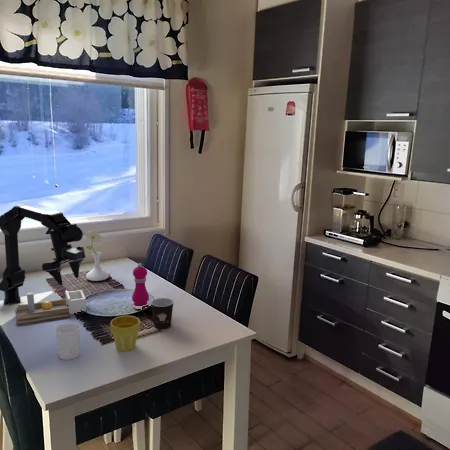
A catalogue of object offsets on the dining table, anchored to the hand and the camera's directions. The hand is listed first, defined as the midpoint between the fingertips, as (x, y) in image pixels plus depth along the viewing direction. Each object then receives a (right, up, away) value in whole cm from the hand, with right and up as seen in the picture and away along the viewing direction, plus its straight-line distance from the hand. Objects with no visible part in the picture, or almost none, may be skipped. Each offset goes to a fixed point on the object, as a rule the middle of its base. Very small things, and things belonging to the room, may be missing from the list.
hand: (69, 281), depth 178 cm
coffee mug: (+37, -17, -3) cm, 40 cm away
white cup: (+9, -22, -26) cm, 36 cm away
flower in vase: (-3, -5, +48) cm, 48 cm away
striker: (-17, -13, +4) cm, 22 cm away
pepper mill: (+26, -13, +14) cm, 32 cm away
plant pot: (+27, -21, -20) cm, 40 cm away
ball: (-11, -11, +6) cm, 17 cm away
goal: (-1, -13, +11) cm, 17 cm away
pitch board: (-13, -14, +6) cm, 20 cm away
